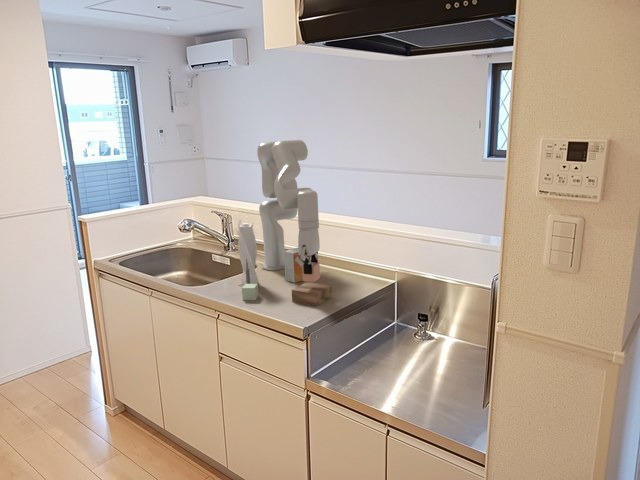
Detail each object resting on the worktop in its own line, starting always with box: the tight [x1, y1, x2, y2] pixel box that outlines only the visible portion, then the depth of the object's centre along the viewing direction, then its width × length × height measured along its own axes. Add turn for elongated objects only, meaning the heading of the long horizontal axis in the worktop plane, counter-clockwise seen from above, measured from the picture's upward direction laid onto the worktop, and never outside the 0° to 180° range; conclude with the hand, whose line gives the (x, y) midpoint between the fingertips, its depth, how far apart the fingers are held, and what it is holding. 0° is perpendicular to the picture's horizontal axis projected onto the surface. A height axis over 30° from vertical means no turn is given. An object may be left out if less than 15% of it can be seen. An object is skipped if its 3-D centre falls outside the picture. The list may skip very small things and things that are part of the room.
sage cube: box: [241, 284, 260, 301], centre depth 196 cm, size 5×5×5 cm
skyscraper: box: [237, 219, 262, 288], centre depth 211 cm, size 8×8×28 cm
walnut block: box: [291, 281, 333, 307], centre depth 192 cm, size 11×11×5 cm
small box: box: [284, 247, 309, 284], centre depth 216 cm, size 8×6×13 cm
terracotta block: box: [302, 262, 321, 283], centre depth 190 cm, size 5×5×6 cm
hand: (311, 271), depth 190 cm, fingers closed on terracotta block, 5 cm apart
